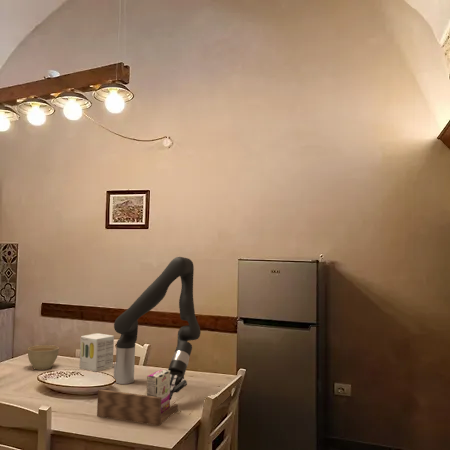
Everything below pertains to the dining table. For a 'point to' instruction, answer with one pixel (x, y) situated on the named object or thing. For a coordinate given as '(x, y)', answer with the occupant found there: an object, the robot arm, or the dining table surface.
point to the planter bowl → (42, 356)
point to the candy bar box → (160, 387)
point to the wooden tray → (132, 407)
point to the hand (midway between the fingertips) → (166, 400)
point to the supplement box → (96, 352)
